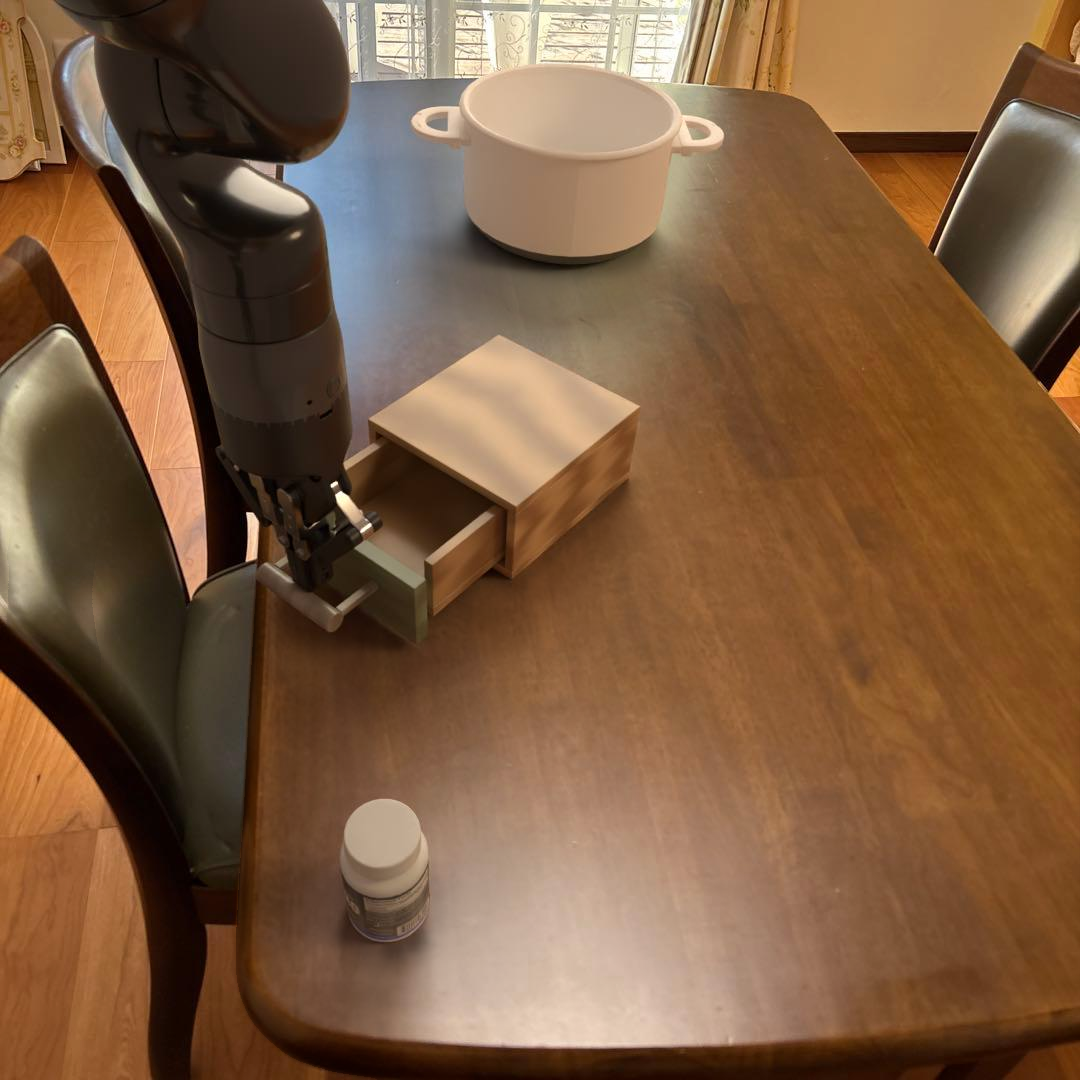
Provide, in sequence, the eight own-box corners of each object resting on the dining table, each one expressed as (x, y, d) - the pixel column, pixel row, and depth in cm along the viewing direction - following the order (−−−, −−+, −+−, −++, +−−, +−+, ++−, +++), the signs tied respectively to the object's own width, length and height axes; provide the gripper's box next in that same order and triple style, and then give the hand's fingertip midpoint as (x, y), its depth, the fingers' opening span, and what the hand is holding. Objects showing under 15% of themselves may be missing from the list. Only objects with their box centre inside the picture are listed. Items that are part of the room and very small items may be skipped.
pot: (688, 182, 125) (708, 68, 116) (723, 284, 109) (750, 160, 99) (416, 174, 123) (413, 55, 113) (411, 277, 106) (407, 149, 97)
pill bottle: (345, 871, 60) (333, 796, 54) (425, 860, 61) (422, 785, 55) (349, 951, 57) (337, 880, 51) (434, 938, 57) (432, 867, 52)
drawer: (365, 689, 68) (359, 633, 64) (232, 590, 73) (219, 533, 69) (544, 535, 79) (549, 479, 75) (417, 459, 85) (416, 403, 81)
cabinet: (511, 580, 77) (516, 507, 72) (372, 492, 83) (367, 418, 78) (629, 478, 86) (640, 406, 81) (496, 405, 92) (498, 333, 87)
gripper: (145, 356, 57) (204, 564, 70) (309, 462, 52) (341, 666, 64) (250, 300, 61) (288, 505, 74) (412, 393, 56) (423, 597, 68)
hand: (313, 580), depth 69 cm, fingers closed
